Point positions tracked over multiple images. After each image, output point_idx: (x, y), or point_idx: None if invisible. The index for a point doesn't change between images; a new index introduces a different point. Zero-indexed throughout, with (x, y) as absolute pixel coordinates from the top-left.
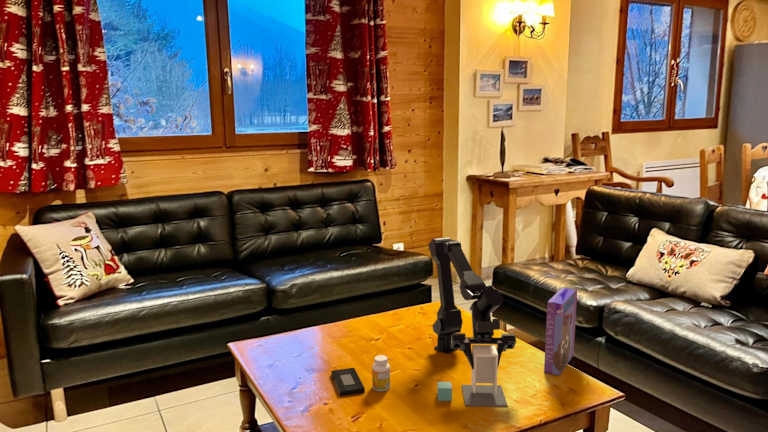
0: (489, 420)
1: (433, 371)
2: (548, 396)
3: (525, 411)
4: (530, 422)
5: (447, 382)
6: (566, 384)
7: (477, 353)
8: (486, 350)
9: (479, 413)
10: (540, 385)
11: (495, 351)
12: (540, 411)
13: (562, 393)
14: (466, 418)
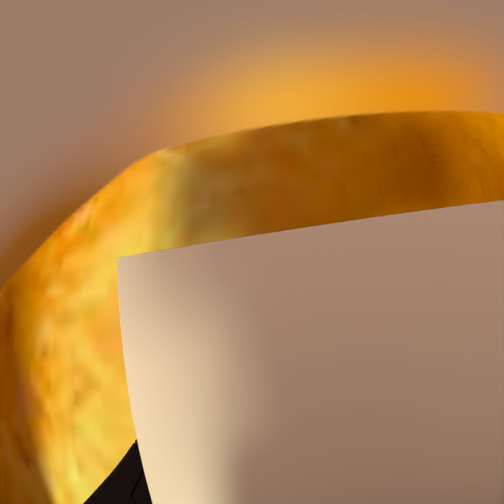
0: (270, 155)
1: None
2: (38, 381)
3: (120, 251)
4: (118, 177)
5: None
6: (2, 456)
7: (494, 246)
8: (350, 437)
9: (315, 198)
10: (63, 466)
11: (158, 416)
12: (71, 262)
13: (6, 400)
14: (361, 155)
